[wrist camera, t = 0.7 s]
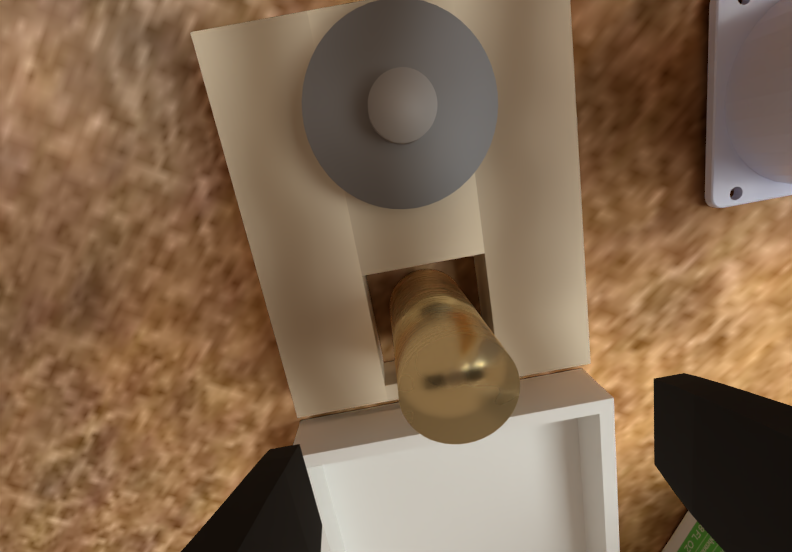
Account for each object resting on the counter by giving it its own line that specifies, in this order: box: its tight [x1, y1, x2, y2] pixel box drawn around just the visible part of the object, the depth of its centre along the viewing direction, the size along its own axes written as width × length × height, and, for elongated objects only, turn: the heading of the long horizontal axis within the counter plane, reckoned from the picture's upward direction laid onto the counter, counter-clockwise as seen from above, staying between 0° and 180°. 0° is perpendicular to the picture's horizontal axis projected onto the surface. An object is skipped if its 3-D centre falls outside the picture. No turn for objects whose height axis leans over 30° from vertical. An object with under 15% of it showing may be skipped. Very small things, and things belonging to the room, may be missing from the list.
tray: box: [293, 368, 620, 552], centre depth 19 cm, size 13×13×2 cm
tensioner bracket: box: [190, 0, 591, 418], centre depth 14 cm, size 12×14×4 cm
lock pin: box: [390, 269, 520, 444], centre depth 14 cm, size 3×3×7 cm
